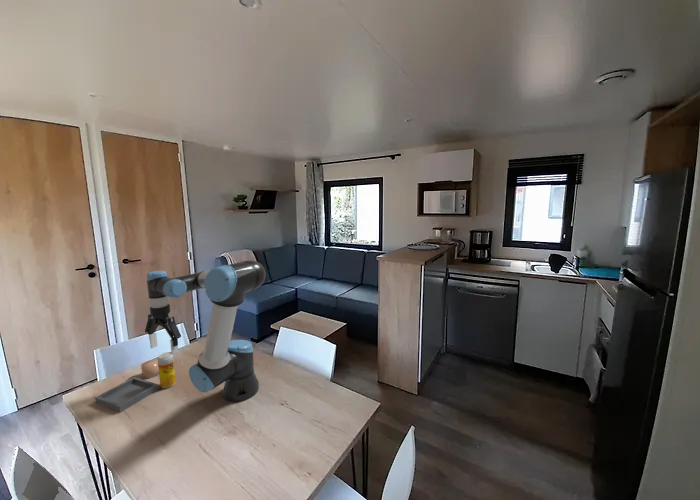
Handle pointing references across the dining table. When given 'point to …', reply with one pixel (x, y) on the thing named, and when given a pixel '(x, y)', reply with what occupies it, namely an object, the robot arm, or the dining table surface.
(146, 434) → the dining table surface
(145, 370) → the light brown rounded lump
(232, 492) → the dining table surface
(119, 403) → the tray
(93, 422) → the dining table surface
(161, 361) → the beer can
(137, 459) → the dining table surface
